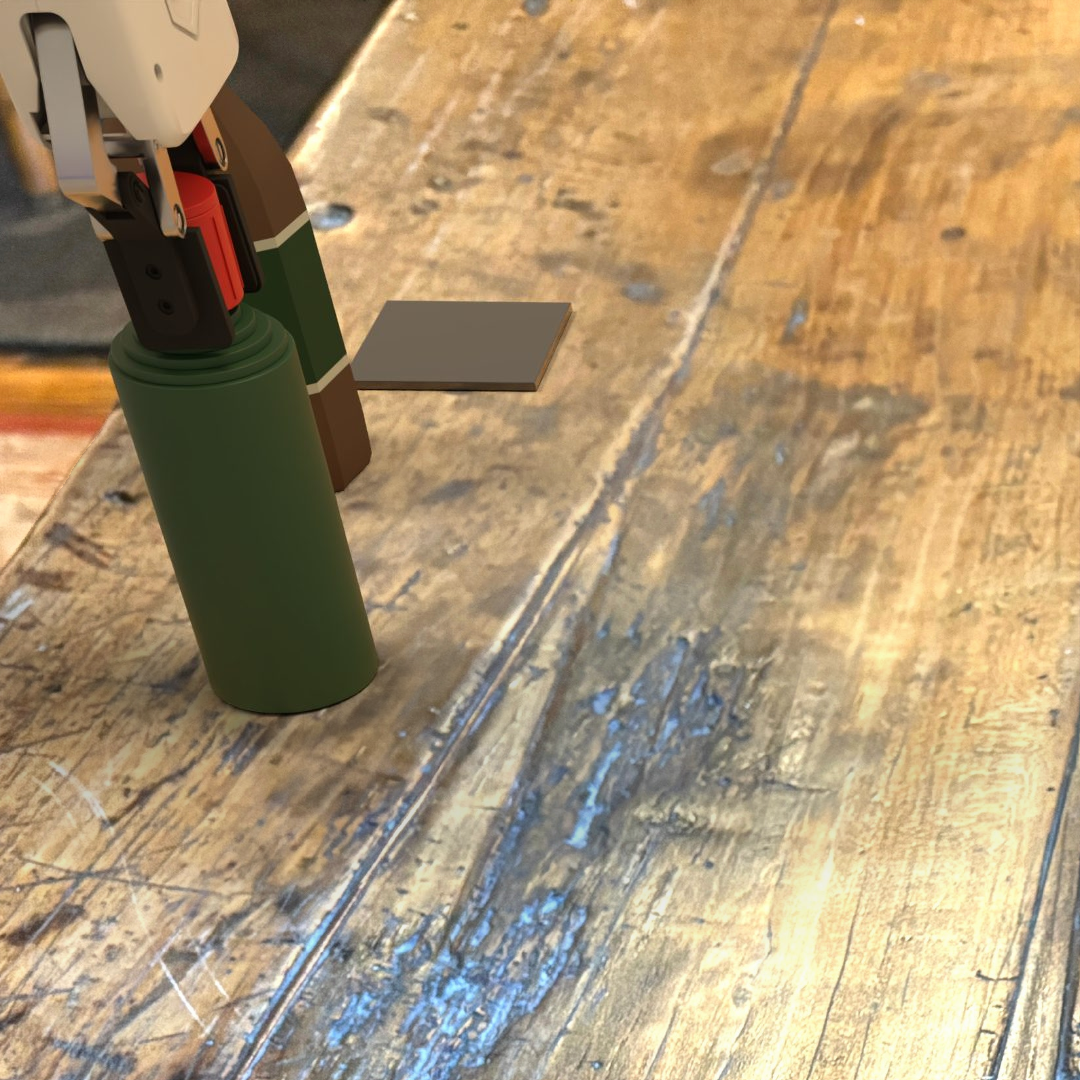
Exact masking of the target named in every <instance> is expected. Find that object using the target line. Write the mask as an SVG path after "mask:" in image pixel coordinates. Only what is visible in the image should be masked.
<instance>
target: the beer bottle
mask: <svg viewBox="0 0 1080 1080" xmlns="http://www.w3.org/2000/svg"><path fill="white" fill-rule="evenodd" d="M210 109H211V111H212V114H213V116H214V119H215V121H216V124H217V127H218V129H219V132H220V134H221V137H222V139H223V142H224V145H225V148H226V152H227V158H228V166H227V170H226V171H214V172H215V174H231V175H232V178H233V181H234V184H235V187H236V190H237V193H238V196H239V200H240V203H241V206H242V209H243V212H244V215H245V218H246V221H247V224H248V227H249V230H250V234H251V237H252V240H253V243H254V246H255V249H256V252H257V255H258V258H259V261H260V264H261V268H262V271H263V274H264V278H265V281H264V284H263V286H262V287H261V289H260V291H258V292H256V293H244V295H243V298H242V300H241V301H242V302H244V303H246V304H247V305H249V306H251V307H253V308H256V309H258V310H259V311H261V312H262V313H265V314H267V315H269V316H271V317H273V318H275V319H276V320H277V321H279V322H280V323H281V324H282V326H283V327H284V329H286V330H287V331H288V332H289V333H290V334H291V335H292V337H293V339H294V341H295V345H296V349H297V352H298V356H299V360H300V364H301V368H302V371H303V375H304V379H305V383H306V386H307V390H308V394H309V398H310V402H311V405H312V409H313V413H314V417H315V420H316V424H317V428H318V432H319V436H320V439H321V443H322V447H323V451H324V455H325V458H326V462H327V466H328V470H329V473H330V477H331V481H332V485H333V489H334V492H339V491H343V490H345V489H346V487H348V485H349V484H350V483H352V481H353V480H354V479H355V478H356V477H357V476H358V474H360V473H361V472H362V470H364V468H365V467H366V466H367V465H368V464H369V463H370V462H371V459H372V458H371V457H372V454H373V451H372V447H371V446H372V445H371V442H370V436H369V432H368V427H367V423H366V417H365V413H364V410H363V406H362V402H361V399H360V396H359V392H358V391H359V390H358V389H357V388H356V384H355V380H354V377H353V373H352V370H351V366H350V364H351V361H350V360H349V356H348V352H347V349H346V344H345V340H344V338H343V337H344V336H343V334H342V330H341V327H340V323H339V319H338V316H337V312H336V309H335V305H334V302H333V297H332V295H331V290H330V286H329V283H328V280H327V276H326V273H325V268H324V265H323V261H322V259H321V254H320V251H319V247H318V244H317V240H316V236H315V233H314V229H313V226H312V222H311V219H310V215H309V211H308V207H307V205H306V202H305V199H304V197H303V194H302V192H301V188H300V185H299V182H298V180H297V177H296V174H295V172H294V169H293V166H292V163H291V162H290V160H289V159H288V158H287V155H286V154H285V153H284V151H283V150H282V148H281V146H280V145H279V143H278V142H277V140H276V138H275V137H274V136H273V134H272V133H271V131H270V130H269V128H268V126H267V125H266V124H265V123H264V122H263V121H262V120H261V119H260V118H259V117H258V115H256V114H255V113H254V112H253V111H252V109H250V108H249V106H247V104H246V103H245V102H243V100H242V99H240V97H239V96H238V95H237V94H236V93H235V92H234V91H233V90H232V88H230V87H229V86H228V84H227V82H226V81H225V83H224V84H223V86H222V87H221V89H220V91H219V92H218V94H217V95H216V97H215V98H214V100H213V102H212V103H211V105H210ZM103 119H104V120H103V123H102V125H101V127H102V134H114V133H127V132H126V130H125V127H124V125H123V124H122V123H121V122H120V120H119V119H118V118H103ZM109 160H110V162H111V163H112V164H113V165H115V166H117V170H119V171H121V172H125V171H132V172H134V173H135V174H138V173H144V170H143V169H142V167H141V165H140V163H139V161H138V158H122V159H109Z"/></svg>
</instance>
